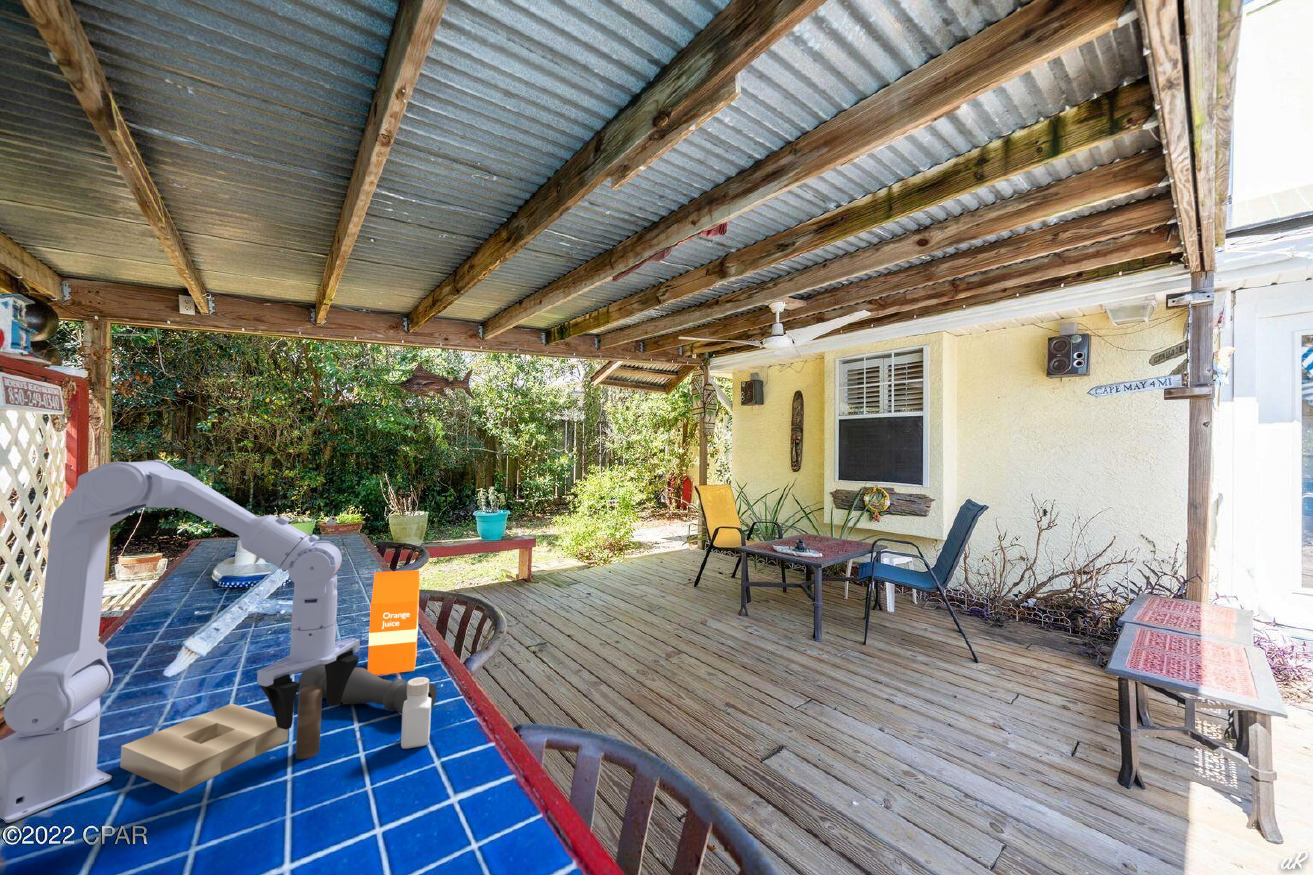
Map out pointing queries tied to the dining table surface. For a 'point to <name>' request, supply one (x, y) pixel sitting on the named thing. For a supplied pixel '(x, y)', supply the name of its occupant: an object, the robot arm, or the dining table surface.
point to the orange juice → (393, 622)
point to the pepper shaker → (416, 714)
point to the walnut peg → (309, 721)
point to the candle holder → (365, 688)
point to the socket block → (202, 747)
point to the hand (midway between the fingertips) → (309, 715)
